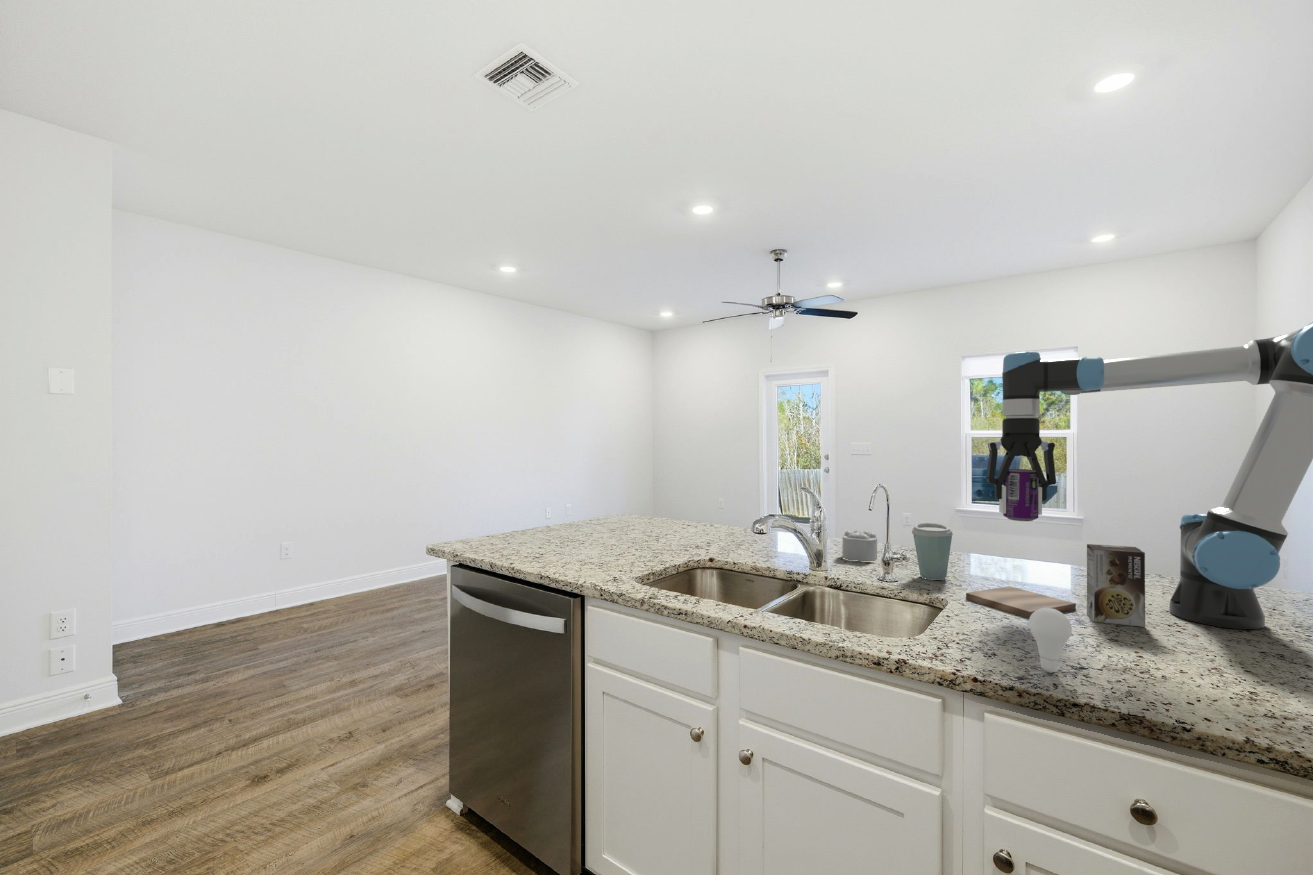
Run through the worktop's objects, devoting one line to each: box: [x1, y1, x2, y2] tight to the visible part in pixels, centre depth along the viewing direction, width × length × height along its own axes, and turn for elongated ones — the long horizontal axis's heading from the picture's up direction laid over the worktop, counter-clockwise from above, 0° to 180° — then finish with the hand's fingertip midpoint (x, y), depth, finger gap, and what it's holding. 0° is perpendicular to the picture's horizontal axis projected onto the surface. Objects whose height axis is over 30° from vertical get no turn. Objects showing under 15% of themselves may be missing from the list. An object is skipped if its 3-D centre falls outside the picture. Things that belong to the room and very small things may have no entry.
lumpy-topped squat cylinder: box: [842, 529, 878, 562], centre depth 187 cm, size 10×13×9 cm
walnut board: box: [965, 585, 1077, 619], centre depth 137 cm, size 16×16×2 cm
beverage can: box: [1002, 468, 1039, 522], centre depth 137 cm, size 7×7×12 cm
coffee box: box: [1086, 543, 1146, 628], centre depth 125 cm, size 9×6×16 cm
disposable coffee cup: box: [911, 522, 954, 581], centre depth 161 cm, size 11×11×15 cm
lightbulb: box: [1028, 608, 1073, 674], centre depth 98 cm, size 6×6×11 cm
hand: (1020, 513), depth 137 cm, fingers closed on beverage can, 7 cm apart
